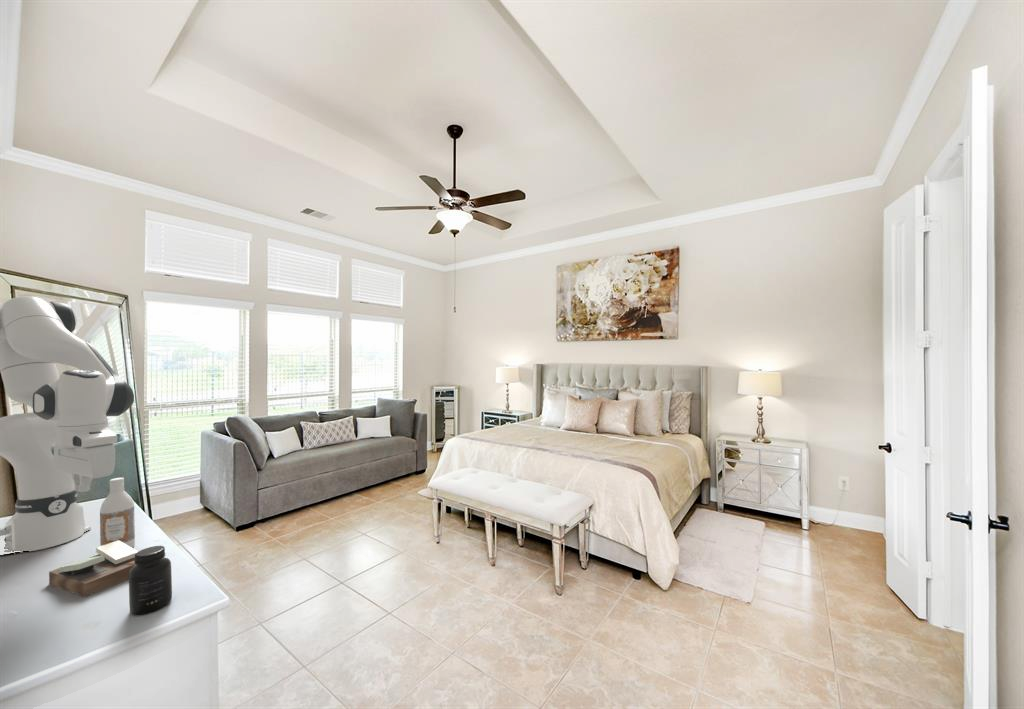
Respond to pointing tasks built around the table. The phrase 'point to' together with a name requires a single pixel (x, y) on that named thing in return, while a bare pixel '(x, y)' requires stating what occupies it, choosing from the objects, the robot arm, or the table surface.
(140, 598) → the supplement bottle
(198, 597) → the table surface
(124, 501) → the bath foam
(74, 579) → the switch plate
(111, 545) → the block
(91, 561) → the block
